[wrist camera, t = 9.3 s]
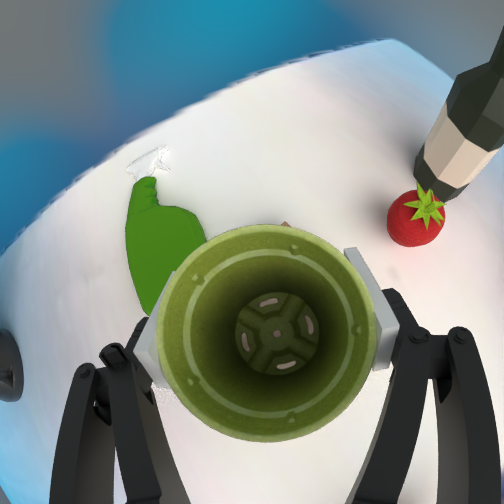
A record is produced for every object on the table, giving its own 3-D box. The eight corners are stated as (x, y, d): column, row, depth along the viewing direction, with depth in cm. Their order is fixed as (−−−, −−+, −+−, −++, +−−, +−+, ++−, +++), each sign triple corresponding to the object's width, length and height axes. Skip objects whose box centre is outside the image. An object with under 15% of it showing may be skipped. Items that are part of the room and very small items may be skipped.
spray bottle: (149, 322, 32) (120, 177, 41) (227, 291, 32) (177, 146, 40) (137, 320, 30) (111, 168, 38) (220, 287, 29) (170, 135, 37)
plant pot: (232, 410, 17) (189, 456, 9) (198, 291, 20) (138, 262, 12) (357, 373, 17) (401, 399, 9) (316, 252, 20) (329, 196, 12)
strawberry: (365, 225, 31) (389, 184, 22) (410, 204, 31) (441, 163, 22) (387, 268, 29) (422, 241, 20) (432, 244, 29) (472, 212, 20)
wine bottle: (465, 180, 31) (562, 35, 2) (446, 214, 30) (573, 50, 1) (426, 145, 33) (492, -19, 5) (403, 174, 32) (483, -23, 4)
